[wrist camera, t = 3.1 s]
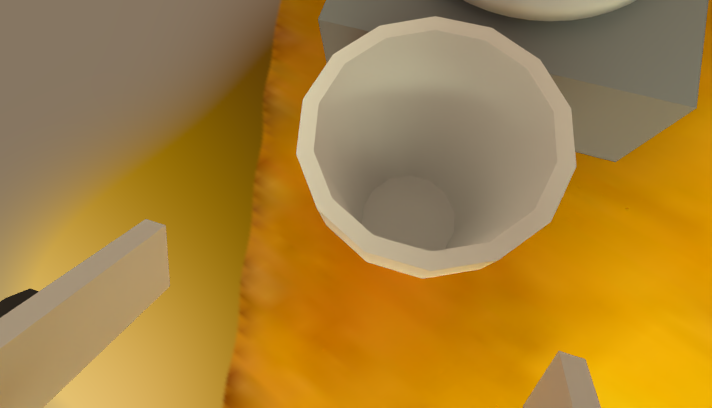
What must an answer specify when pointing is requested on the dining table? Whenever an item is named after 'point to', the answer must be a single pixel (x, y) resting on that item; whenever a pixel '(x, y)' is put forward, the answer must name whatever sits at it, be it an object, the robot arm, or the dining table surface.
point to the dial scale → (574, 55)
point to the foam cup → (435, 146)
